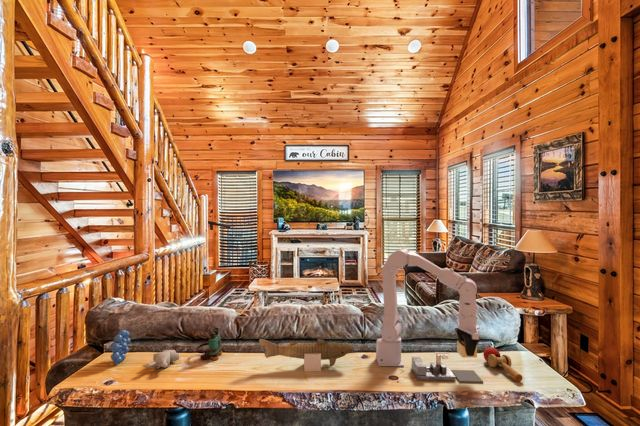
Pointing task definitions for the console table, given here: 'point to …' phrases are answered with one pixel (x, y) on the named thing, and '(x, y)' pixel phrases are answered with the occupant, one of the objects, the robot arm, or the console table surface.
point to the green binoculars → (212, 346)
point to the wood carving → (308, 352)
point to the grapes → (120, 346)
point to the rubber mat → (467, 376)
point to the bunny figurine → (163, 359)
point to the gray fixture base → (432, 370)
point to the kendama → (501, 362)
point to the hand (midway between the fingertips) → (467, 352)
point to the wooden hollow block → (464, 349)
